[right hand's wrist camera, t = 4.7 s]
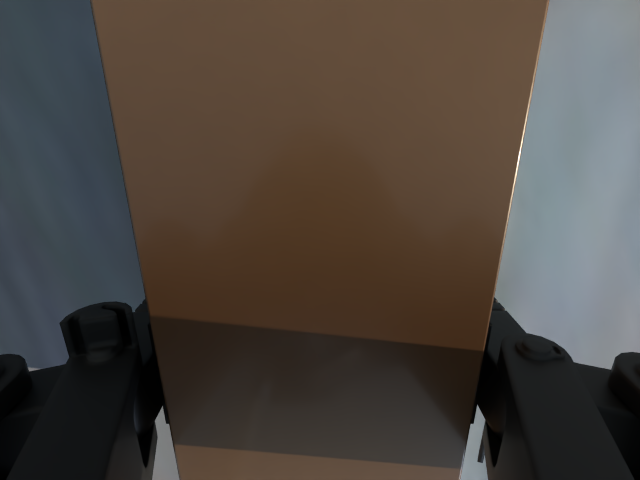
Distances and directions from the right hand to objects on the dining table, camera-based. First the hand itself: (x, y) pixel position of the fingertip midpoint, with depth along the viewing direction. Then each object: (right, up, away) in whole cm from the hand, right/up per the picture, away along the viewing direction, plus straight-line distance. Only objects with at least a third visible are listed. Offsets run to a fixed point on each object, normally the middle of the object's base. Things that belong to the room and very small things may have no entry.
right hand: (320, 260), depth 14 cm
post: (0, +29, -10) cm, 31 cm away
